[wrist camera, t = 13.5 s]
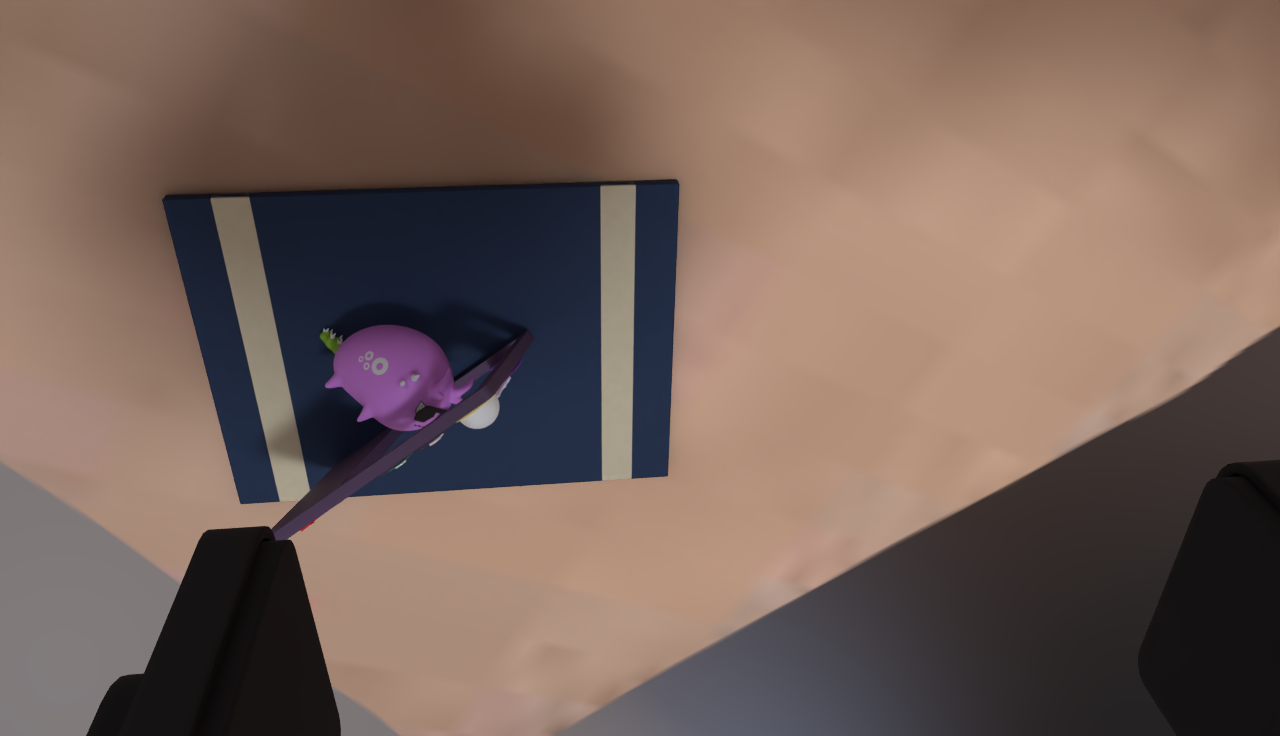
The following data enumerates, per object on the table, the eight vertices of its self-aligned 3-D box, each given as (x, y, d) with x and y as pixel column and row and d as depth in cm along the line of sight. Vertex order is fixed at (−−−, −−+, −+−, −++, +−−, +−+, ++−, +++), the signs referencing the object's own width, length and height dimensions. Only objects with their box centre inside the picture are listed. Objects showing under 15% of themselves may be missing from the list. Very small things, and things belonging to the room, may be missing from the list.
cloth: (677, 179, 32) (679, 184, 32) (666, 470, 38) (668, 476, 38) (165, 194, 30) (161, 200, 30) (242, 497, 36) (240, 504, 36)
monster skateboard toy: (276, 576, 29) (509, 417, 28) (160, 441, 29) (393, 267, 27) (355, 488, 36) (548, 354, 34) (262, 376, 35) (456, 231, 33)
